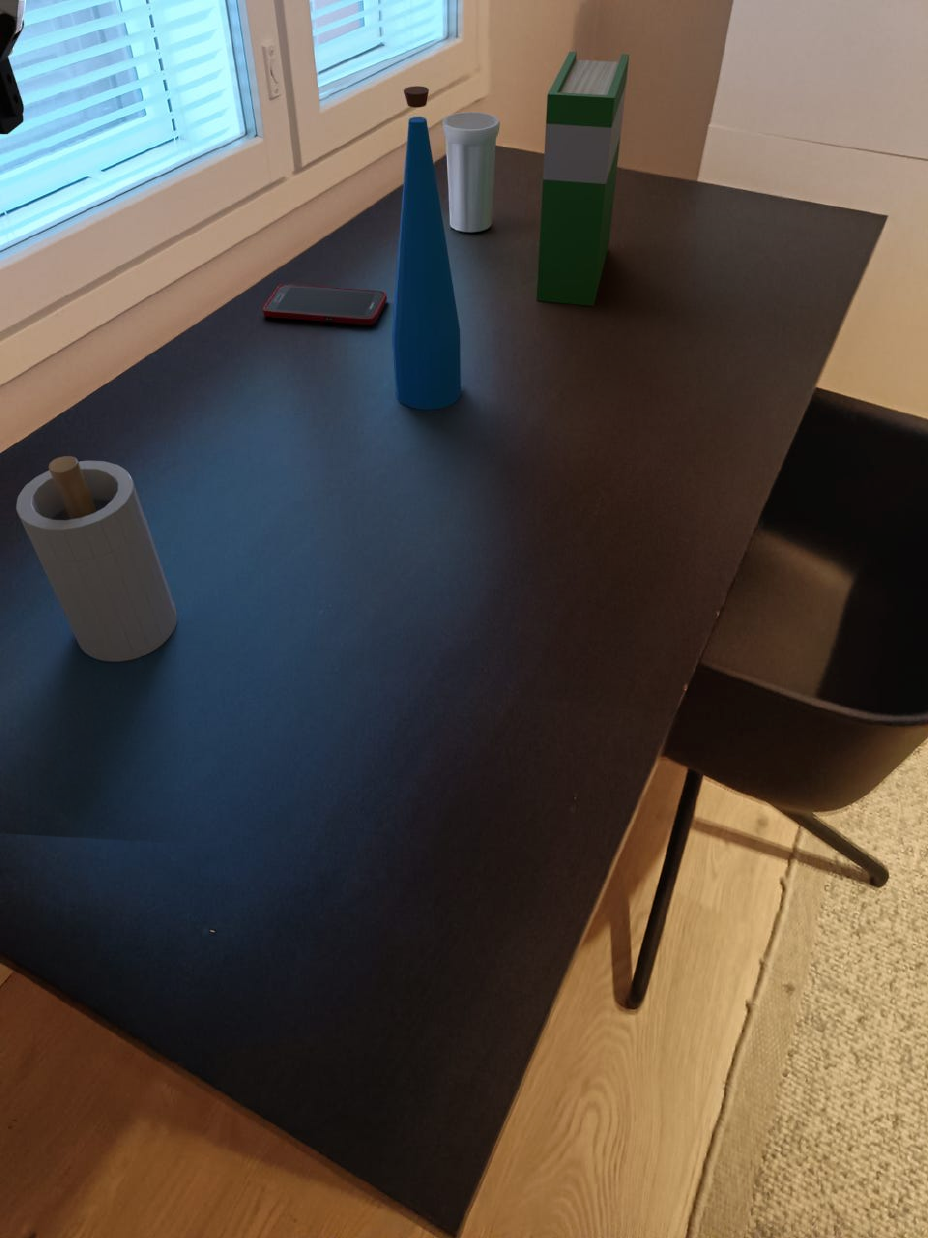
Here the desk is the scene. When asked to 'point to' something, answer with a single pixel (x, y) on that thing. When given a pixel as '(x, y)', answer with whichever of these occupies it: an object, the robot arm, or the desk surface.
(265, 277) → the desk surface
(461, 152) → the cup
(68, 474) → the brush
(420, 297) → the bottle
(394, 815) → the desk surface
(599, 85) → the hardback book
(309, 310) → the cell phone
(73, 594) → the grey hollow tube
